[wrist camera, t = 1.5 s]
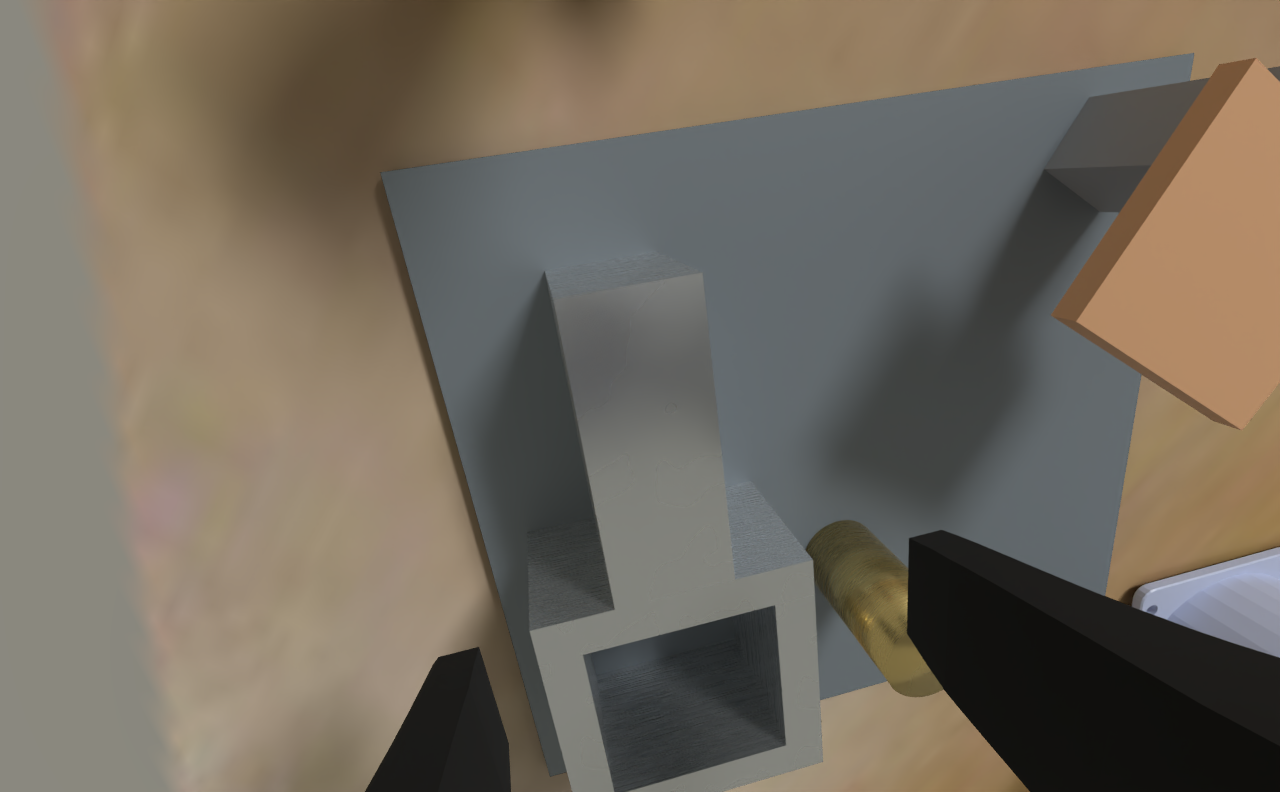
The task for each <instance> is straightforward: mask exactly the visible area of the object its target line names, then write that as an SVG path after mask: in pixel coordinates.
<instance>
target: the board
mask: <svg viewBox="0 0 1280 792" xmlns="http://www.w3.org/2000/svg"><path fill="white" fill-rule="evenodd" d="M1193 58H1194V53H1191V54H1184V55H1177V56H1170V57H1163V58H1157V59H1150V60H1143V61H1136V62H1129V63H1123V64H1116V65H1109V66H1102V67H1095V68H1088V69H1082V70H1075V71H1068V72H1061V73H1054V74H1048V75H1041V76H1034V77H1027V78H1020V79H1014V80H1007V81H1000V82H993V83H986V84H979V85H973V86H966V87H959V88H952V89H945V90H939V91H932V92H925V93H918V94H911V95H905V96H898V97H891V98H884V99H877V100H870V101H864V102H857V103H850V104H843V105H836V106H830V107H823V108H816V109H809V110H802V111H796V112H789V113H782V114H775V115H768V116H761V117H755V118H748V119H741V120H734V121H727V122H721V123H714V124H707V125H700V126H693V127H687V128H680V129H673V130H666V131H659V132H652V133H646V134H639V135H632V136H625V137H618V138H612V139H605V140H598V141H591V142H584V143H578V144H571V145H564V146H557V147H550V148H543V149H537V150H530V151H523V152H516V153H509V154H503V155H496V156H489V157H482V158H475V159H469V160H462V161H455V162H448V163H441V164H434V165H428V166H421V167H414V168H407V169H400V170H394V171H387V172H380V173H381V177H382V180H383V184H384V187H385V191H386V195H387V198H388V202H389V205H390V209H391V212H392V216H393V219H394V223H395V227H396V230H397V234H398V237H399V241H400V244H401V248H402V252H403V255H404V259H405V262H406V266H407V269H408V273H409V276H410V280H411V284H412V287H413V291H414V294H415V298H416V301H417V305H418V308H419V312H420V316H421V319H422V323H423V326H424V330H425V333H426V337H427V340H428V344H429V348H430V351H431V355H432V358H433V362H434V365H435V369H436V373H437V376H438V380H439V383H440V387H441V390H442V394H443V397H444V401H445V405H446V408H447V412H448V415H449V419H450V422H451V426H452V429H453V433H454V437H455V440H456V444H457V447H458V451H459V454H460V458H461V461H462V465H463V469H464V472H465V476H466V479H467V483H468V486H469V490H470V494H471V497H472V501H473V504H474V508H475V511H476V515H477V518H478V522H479V526H480V529H481V533H482V536H483V540H484V543H485V547H486V550H487V554H488V558H489V561H490V565H491V568H492V572H493V575H494V579H495V582H496V586H497V590H498V593H499V597H500V600H501V604H502V607H503V611H504V615H505V618H506V622H507V625H508V629H509V632H510V636H511V639H512V643H513V647H514V650H515V654H516V657H517V661H518V664H519V668H520V671H521V675H522V679H523V682H524V686H525V689H526V693H527V696H528V700H529V704H530V707H531V711H532V714H533V718H534V721H535V725H536V728H537V732H538V736H539V739H540V743H541V746H542V750H543V753H544V757H545V760H546V764H547V768H548V771H549V775H550V777H551V776H554V775H558V774H561V773H565V772H567V770H566V767H565V763H564V759H563V755H562V751H561V748H560V744H559V740H558V736H557V733H556V729H555V725H554V721H553V718H552V714H551V710H550V706H549V703H548V699H547V695H546V691H545V687H544V684H543V680H542V676H541V672H540V669H539V665H538V661H537V657H536V654H535V650H534V646H533V642H532V639H531V635H530V629H529V585H528V542H527V532H531V531H536V530H540V529H544V528H549V527H553V526H557V525H562V524H566V523H571V522H575V521H579V520H584V519H588V518H592V517H594V515H593V510H592V505H591V500H590V495H589V490H588V485H587V480H586V475H585V470H584V465H583V460H582V455H581V450H580V445H579V440H578V435H577V430H576V425H575V420H574V415H573V410H572V405H571V400H570V395H569V390H568V385H567V380H566V375H565V370H564V365H563V360H562V355H561V350H560V345H559V340H558V335H557V330H556V325H555V320H554V315H553V310H552V305H551V300H550V295H549V290H548V285H547V280H546V275H545V271H547V270H553V269H559V268H564V267H570V266H576V265H582V264H587V263H593V262H599V261H605V260H611V259H616V258H622V257H628V256H634V255H639V254H645V253H651V252H659V253H661V254H663V255H665V256H667V257H669V258H672V259H674V260H676V261H678V262H680V263H683V264H685V265H687V266H689V267H691V268H693V269H696V270H698V271H700V272H702V273H703V282H704V291H705V301H706V310H707V320H708V329H709V339H710V348H711V357H712V367H713V376H714V386H715V395H716V404H717V414H718V423H719V433H720V442H721V451H722V461H723V470H724V480H725V487H728V486H732V485H736V484H741V483H745V482H749V481H751V482H752V483H753V485H754V486H755V487H756V488H757V490H758V491H759V492H760V494H761V495H762V496H763V497H764V499H765V500H766V501H767V502H768V504H769V505H770V506H771V507H772V509H773V510H774V511H775V512H776V514H777V515H778V516H779V518H780V519H781V520H782V521H783V523H784V524H785V525H786V526H787V528H788V529H789V530H790V531H791V533H792V534H793V535H794V537H795V538H796V539H797V540H798V542H799V543H800V544H801V545H802V547H803V548H804V549H805V550H806V547H807V545H808V543H809V542H810V540H811V539H812V537H813V536H814V535H815V534H816V533H817V532H818V531H819V530H821V529H822V528H824V527H825V526H827V525H829V524H831V523H833V522H837V521H841V520H852V521H856V522H859V523H861V524H863V525H864V526H865V527H867V528H868V529H869V530H870V531H871V532H872V533H873V534H874V535H875V536H876V537H877V538H878V539H879V540H880V541H881V542H882V543H883V544H884V545H885V546H886V547H887V548H888V549H889V550H890V551H891V552H892V553H893V554H894V555H895V556H896V557H897V558H898V559H899V560H900V561H901V562H902V563H904V564H905V565H906V566H907V567H908V556H909V538H911V537H915V536H919V535H923V534H927V533H931V532H935V531H939V530H944V531H947V532H949V533H952V534H955V535H958V536H960V537H963V538H965V539H968V540H971V541H973V542H975V543H978V544H980V545H983V546H985V547H988V548H990V549H992V550H995V551H997V552H1000V553H1002V554H1004V555H1007V556H1009V557H1011V558H1014V559H1016V560H1019V561H1021V562H1023V563H1026V564H1028V565H1030V566H1033V567H1035V568H1038V569H1040V570H1042V571H1045V572H1047V573H1049V574H1052V575H1054V576H1057V577H1059V578H1061V579H1064V580H1066V581H1069V582H1071V583H1074V584H1076V585H1078V586H1081V587H1083V588H1086V589H1088V590H1091V591H1093V592H1096V593H1098V594H1101V595H1103V596H1105V593H1106V587H1107V581H1108V575H1109V569H1110V562H1111V556H1112V550H1113V544H1114V538H1115V532H1116V526H1117V520H1118V514H1119V508H1120V502H1121V496H1122V490H1123V483H1124V477H1125V471H1126V465H1127V459H1128V453H1129V447H1130V441H1131V435H1132V429H1133V423H1134V417H1135V411H1136V405H1137V398H1138V392H1139V386H1140V380H1141V374H1140V373H1139V372H1137V371H1136V370H1134V369H1133V368H1131V367H1129V366H1128V365H1126V364H1125V363H1123V362H1122V361H1120V360H1119V359H1117V358H1116V357H1114V356H1112V355H1111V354H1109V353H1108V352H1106V351H1105V350H1103V349H1102V348H1100V347H1099V346H1097V345H1095V344H1094V343H1092V342H1091V341H1089V340H1088V339H1086V338H1085V337H1083V336H1082V335H1080V334H1079V333H1077V332H1075V331H1074V330H1072V329H1071V328H1069V327H1068V326H1066V325H1065V324H1063V323H1062V322H1060V321H1058V320H1057V319H1055V318H1054V317H1052V316H1051V314H1052V313H1053V311H1054V310H1055V308H1056V307H1057V305H1058V304H1059V302H1060V301H1061V299H1062V298H1063V296H1064V295H1065V293H1066V292H1067V290H1068V289H1069V287H1070V286H1071V284H1072V283H1073V281H1074V280H1075V278H1076V277H1077V275H1078V274H1079V272H1080V271H1081V269H1082V268H1083V266H1084V265H1085V263H1086V262H1087V260H1088V259H1089V257H1090V256H1091V254H1092V253H1093V251H1094V250H1095V248H1096V247H1097V246H1098V244H1099V243H1100V241H1101V240H1102V238H1103V237H1104V235H1105V234H1106V232H1107V231H1108V229H1109V228H1110V226H1111V225H1112V223H1113V222H1114V220H1115V219H1116V217H1117V216H1118V214H1119V213H1117V212H1100V211H1098V210H1097V209H1096V208H1094V207H1093V206H1092V205H1090V204H1089V203H1088V202H1086V201H1085V200H1084V199H1082V198H1081V197H1080V196H1078V195H1077V194H1076V193H1075V192H1073V191H1072V190H1071V189H1069V188H1068V187H1067V186H1065V185H1064V184H1063V183H1061V182H1060V181H1059V180H1057V179H1056V178H1055V177H1054V176H1052V175H1051V174H1050V173H1048V172H1047V171H1046V170H1044V168H1045V167H1046V165H1047V163H1048V162H1049V160H1050V159H1051V157H1052V156H1053V154H1054V152H1055V151H1056V149H1057V148H1058V146H1059V144H1060V143H1061V141H1062V140H1063V138H1064V137H1065V135H1066V133H1067V132H1068V130H1069V129H1070V127H1071V125H1072V124H1073V122H1074V121H1075V119H1076V118H1077V116H1078V114H1079V113H1080V111H1081V110H1082V108H1083V107H1084V105H1085V103H1086V102H1087V100H1088V99H1089V97H1093V96H1100V95H1106V94H1112V93H1118V92H1124V91H1131V90H1137V89H1143V88H1149V87H1156V86H1162V85H1168V84H1174V83H1180V82H1187V81H1190V76H1191V70H1192V64H1193ZM814 589H815V609H816V630H817V650H818V670H819V691H820V700H822V699H826V698H829V697H833V696H836V695H840V694H844V693H847V692H851V691H854V690H858V689H861V688H865V687H868V686H872V685H875V684H879V683H882V682H886V681H887V680H886V678H885V677H884V676H883V674H882V673H881V672H880V670H879V669H878V668H877V666H876V665H875V664H874V662H873V661H872V660H871V658H870V657H869V656H868V654H867V653H866V652H865V650H864V649H863V647H862V646H861V645H860V643H859V642H858V641H857V639H856V638H855V637H854V635H853V634H852V633H851V631H850V630H849V629H848V627H847V626H846V625H845V623H844V622H843V621H842V619H841V618H840V617H839V615H838V614H837V613H836V611H835V610H834V609H833V607H832V606H831V605H830V603H829V602H828V601H827V599H826V598H825V597H824V595H823V594H822V593H821V591H820V590H819V589H818V587H817V586H816V585H815V583H814ZM731 639H735V635H734V626H733V617H732V616H731V617H727V618H724V619H720V620H716V621H712V622H708V623H704V624H700V625H697V626H693V627H689V628H685V629H681V630H677V631H673V632H670V633H666V634H662V635H658V636H654V637H650V638H646V639H643V640H639V641H635V642H631V643H627V644H623V645H619V646H615V647H612V648H608V649H604V650H600V651H596V652H592V653H591V654H592V659H593V663H594V668H595V672H596V675H598V674H602V673H606V672H610V671H613V670H617V669H621V668H625V667H629V666H632V665H636V664H640V663H644V662H648V661H651V660H655V659H659V658H663V657H666V656H670V655H674V654H678V653H682V652H685V651H689V650H693V649H697V648H701V647H704V646H708V645H712V644H716V643H719V642H723V641H727V640H731Z"/></svg>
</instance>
